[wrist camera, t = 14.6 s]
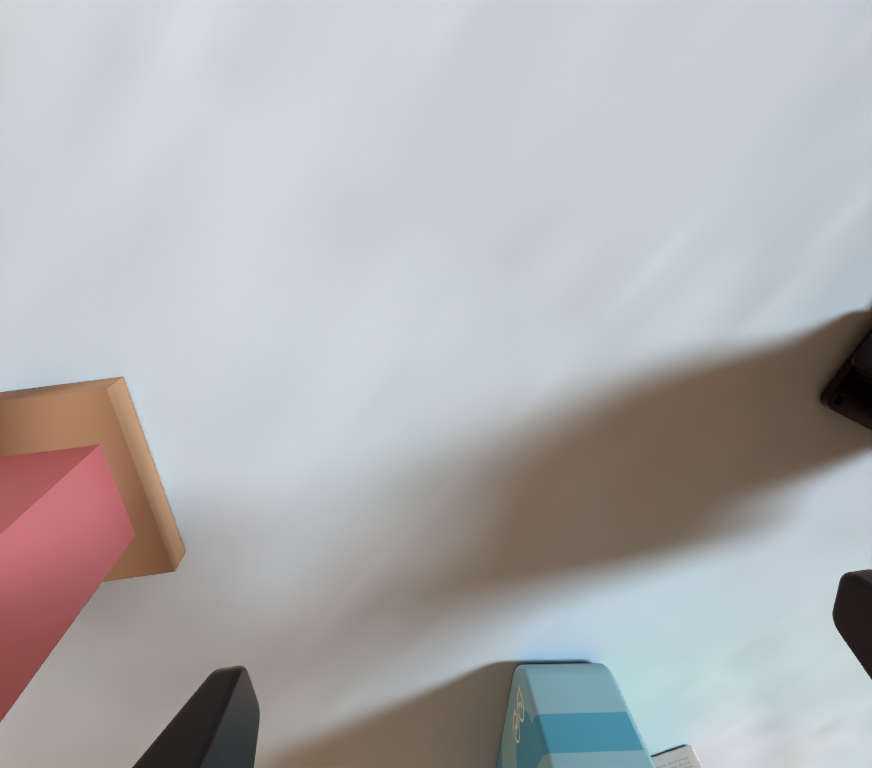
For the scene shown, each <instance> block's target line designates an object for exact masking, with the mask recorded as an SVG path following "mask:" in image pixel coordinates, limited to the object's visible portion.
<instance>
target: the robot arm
mask: <svg viewBox="0 0 872 768" xmlns="http://www.w3.org/2000/svg"><path fill="white" fill-rule="evenodd" d="M837 395H838V396H837ZM836 396H837V398H836V399H835V400H834V398H835V397H836ZM820 400H821V403H822V404H823V405H824V406H826V407H828V408H830V409H831V410H833V411H835V412H837V413H839V414H841V415H843V416H845V417H847V418H849V419H851V420H853V421H855V422H857V423H859V424H861V425H863V426H865V427H867V428H869V429H871V430H872V329H871V330H870V331H869V333H868V334H867V335H866V336H865V338H864V339H863V340H862V342H861V343H860V344H859V346H858V347H857V348H856V349H855V351H854V352H853V353H852V355H851V356H850V357H849V358H848V360H847V361H846V362H845V364H844V365H843V366H842V368H841V369H840V370H839V371H838V373H837V374H836V375H835V377H834V378H833V379H832V380H831V382H830V383H829V384H828V386H827V387H826V388H825V390H824V391H823V393H822V394H821V398H820ZM832 614H833V620H834V624H835V626H836V628H837V630H838V631H839V633H840V635H841V636H842V637H843V639H844V640H845V642H846V643H847V645H848V646H849V648H850V649H851V650H852V652H853V653H854V655H855V656H856V658H857V659H858V661H859V662H860V663H861V665H862V666H863V668H864V669H865V671H866V672H867V674H868V675H869V676H870V678H871V679H872V570H869V569H868V570H860V571H854V572H848V573H845V574H844V575H843V576H842V577H841V579H840V582H839V586H838V591H837V595H836V599H835V603H834V608H833V613H832ZM259 717H260V713H259V704H258V701H257V698H256V695H255V692H254V689H253V686H252V683H251V680H250V677H249V674H248V672H247V670H246V668H245V667H244V666H233V667H227V668H220V669H217V670H215V671H214V672H213V673H211V674H210V675H209V677H208V678H207V679H206V680H205V681H204V683H203V684H202V685H201V686H200V687H199V689H198V690H197V691H196V692H195V693H194V695H193V696H192V697H191V698H190V699H189V700H188V702H187V703H186V704H185V705H184V706H183V708H182V709H181V710H180V711H179V712H178V714H177V715H176V716H175V717H174V718H173V720H172V721H171V722H170V723H169V724H168V726H167V727H166V728H165V729H164V730H163V732H162V733H161V734H160V735H159V736H158V738H157V739H156V740H155V741H154V742H153V743H152V745H151V746H150V747H149V748H148V749H147V751H146V752H145V753H144V754H143V755H142V757H141V758H140V759H139V760H138V761H137V763H136V764H135V765H134V766H133V767H132V768H254V761H255V753H256V745H257V737H258V728H259Z"/></svg>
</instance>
